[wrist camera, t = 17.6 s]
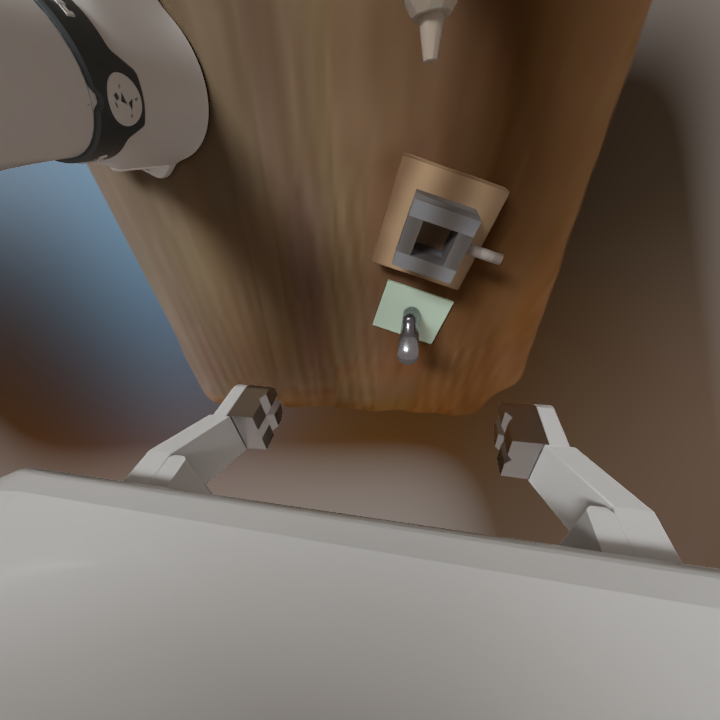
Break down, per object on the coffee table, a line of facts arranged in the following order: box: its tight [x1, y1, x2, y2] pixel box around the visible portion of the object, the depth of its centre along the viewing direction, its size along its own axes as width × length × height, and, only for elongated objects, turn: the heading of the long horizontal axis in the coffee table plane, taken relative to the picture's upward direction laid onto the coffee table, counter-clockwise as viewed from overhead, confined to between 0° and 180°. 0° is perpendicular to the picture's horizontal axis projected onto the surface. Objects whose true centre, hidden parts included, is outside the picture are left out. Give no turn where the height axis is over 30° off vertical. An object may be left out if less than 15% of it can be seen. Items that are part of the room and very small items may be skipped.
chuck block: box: [371, 152, 510, 290], centre depth 36 cm, size 14×12×8 cm
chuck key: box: [397, 307, 420, 365], centre depth 43 cm, size 8×3×10 cm, turn 6°
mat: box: [372, 279, 454, 344], centre depth 47 cm, size 10×8×1 cm
